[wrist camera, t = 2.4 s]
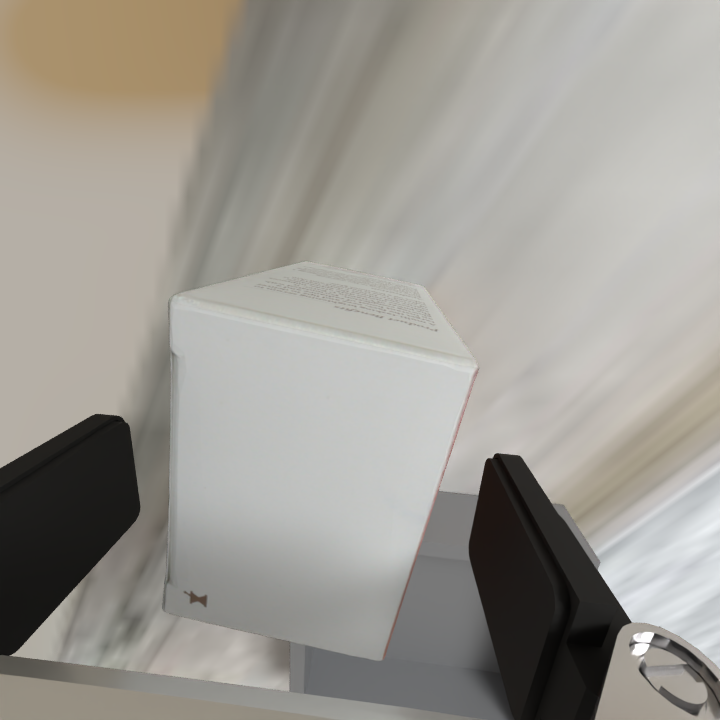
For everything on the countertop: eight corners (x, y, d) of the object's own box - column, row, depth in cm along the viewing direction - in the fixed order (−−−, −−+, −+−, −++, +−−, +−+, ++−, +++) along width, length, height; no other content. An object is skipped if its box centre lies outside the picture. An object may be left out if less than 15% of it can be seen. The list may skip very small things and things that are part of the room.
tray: (307, 476, 20) (290, 526, 16) (563, 505, 19) (600, 562, 16) (303, 646, 24) (289, 711, 21) (509, 673, 23) (529, 745, 20)
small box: (387, 438, 18) (385, 673, 9) (280, 415, 19) (155, 622, 9) (428, 283, 16) (493, 364, 6) (303, 256, 16) (158, 292, 6)
